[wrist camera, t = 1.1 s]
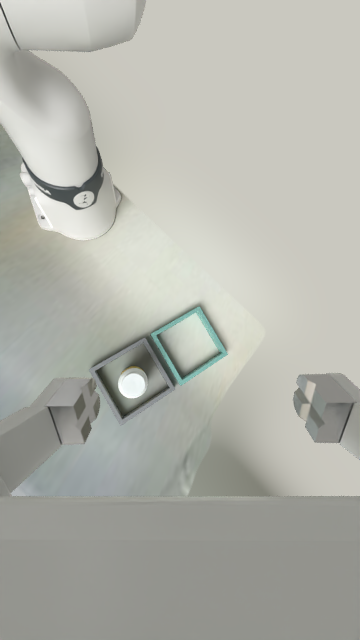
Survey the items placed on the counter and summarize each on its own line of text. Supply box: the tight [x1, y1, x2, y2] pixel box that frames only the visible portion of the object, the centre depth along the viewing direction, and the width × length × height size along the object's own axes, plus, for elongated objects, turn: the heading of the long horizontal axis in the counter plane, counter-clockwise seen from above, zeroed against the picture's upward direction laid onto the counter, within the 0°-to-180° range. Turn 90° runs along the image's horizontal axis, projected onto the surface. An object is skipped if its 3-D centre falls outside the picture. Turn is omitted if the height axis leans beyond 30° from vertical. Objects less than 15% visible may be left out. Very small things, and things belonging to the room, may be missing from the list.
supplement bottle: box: [118, 366, 148, 398], centre depth 42 cm, size 5×5×10 cm
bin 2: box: [150, 306, 228, 385], centre depth 49 cm, size 13×13×2 cm
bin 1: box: [89, 338, 175, 425], centre depth 46 cm, size 13×13×2 cm
